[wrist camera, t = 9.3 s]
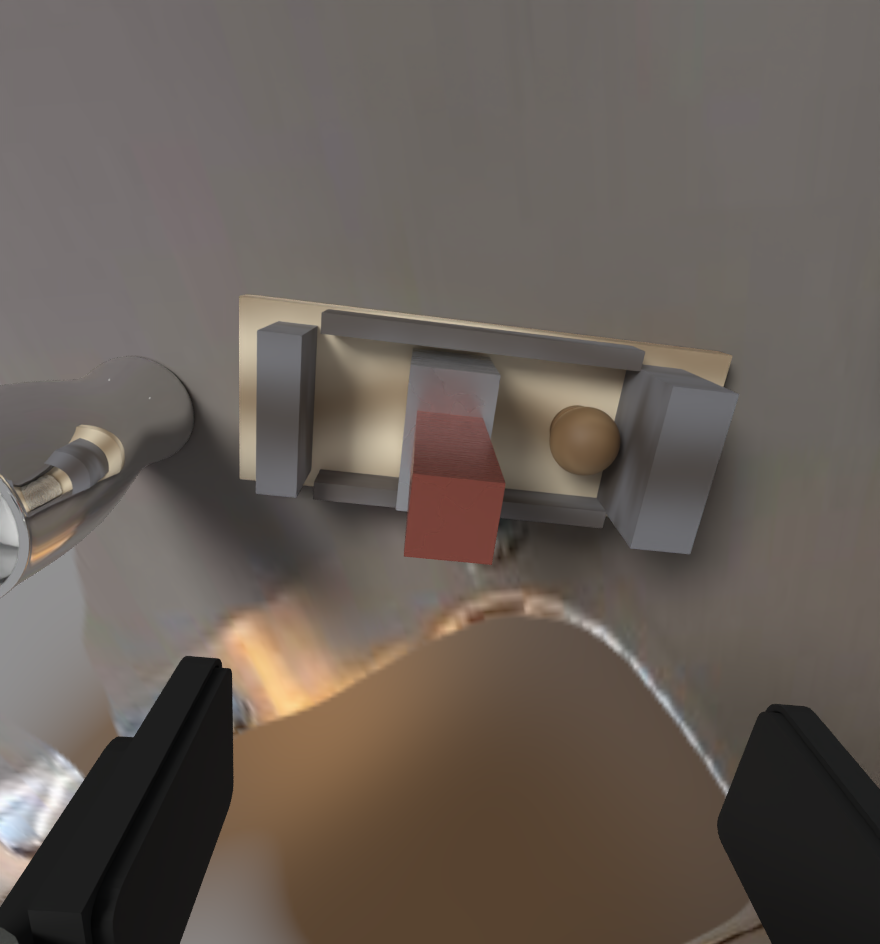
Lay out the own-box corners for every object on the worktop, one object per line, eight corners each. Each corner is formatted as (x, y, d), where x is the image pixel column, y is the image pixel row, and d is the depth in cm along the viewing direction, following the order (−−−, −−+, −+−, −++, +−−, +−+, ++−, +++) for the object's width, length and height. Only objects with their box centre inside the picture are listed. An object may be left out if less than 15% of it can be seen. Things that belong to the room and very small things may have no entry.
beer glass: (198, 476, 34) (37, 632, 20) (77, 454, 33) (-178, 598, 19) (207, 361, 32) (31, 445, 18) (76, 335, 31) (-215, 400, 17)
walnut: (599, 463, 33) (620, 489, 29) (537, 456, 32) (551, 482, 29) (613, 402, 31) (637, 421, 28) (548, 394, 31) (564, 412, 27)
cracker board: (672, 513, 35) (733, 576, 28) (247, 469, 34) (200, 525, 27) (719, 351, 32) (801, 378, 25) (247, 294, 30) (193, 305, 23)
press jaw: (470, 480, 32) (497, 615, 20) (400, 473, 32) (384, 605, 20) (489, 356, 30) (531, 425, 18) (413, 348, 30) (403, 411, 18)
